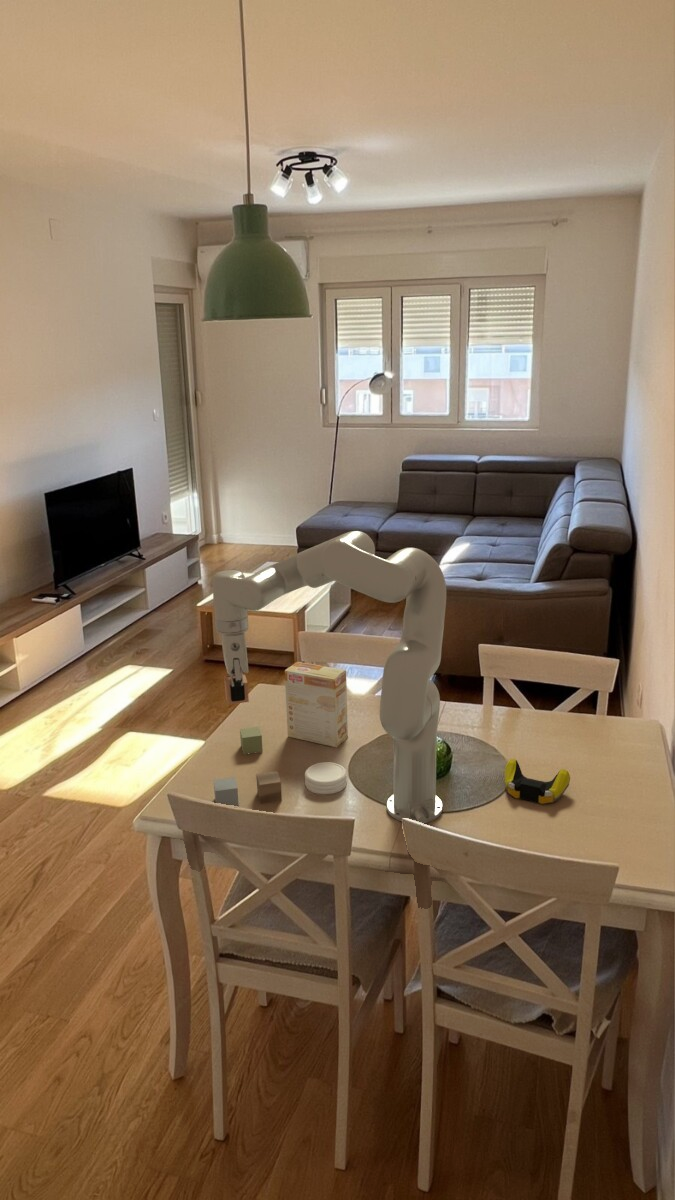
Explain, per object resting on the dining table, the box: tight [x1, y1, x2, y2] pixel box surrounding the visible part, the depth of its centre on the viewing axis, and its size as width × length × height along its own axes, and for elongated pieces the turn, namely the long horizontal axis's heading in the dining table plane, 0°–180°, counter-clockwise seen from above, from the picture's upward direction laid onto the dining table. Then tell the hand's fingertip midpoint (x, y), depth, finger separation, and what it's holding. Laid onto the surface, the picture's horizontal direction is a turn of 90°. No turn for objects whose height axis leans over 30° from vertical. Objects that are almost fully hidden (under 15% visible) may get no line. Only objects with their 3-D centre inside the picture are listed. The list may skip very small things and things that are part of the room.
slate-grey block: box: [213, 776, 240, 807], centre depth 191 cm, size 5×5×5 cm
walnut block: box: [255, 770, 283, 804], centre depth 193 cm, size 5×5×5 cm
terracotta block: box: [223, 673, 249, 705], centre depth 197 cm, size 5×5×5 cm
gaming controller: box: [504, 758, 571, 805], centre depth 192 cm, size 15×6×10 cm
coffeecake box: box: [284, 661, 349, 748], centre depth 218 cm, size 15×7×20 cm, turn 63°
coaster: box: [304, 761, 348, 795], centre depth 198 cm, size 10×10×4 cm
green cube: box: [239, 726, 264, 755], centre depth 215 cm, size 5×5×5 cm
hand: (236, 694), depth 197 cm, fingers closed on terracotta block, 4 cm apart
